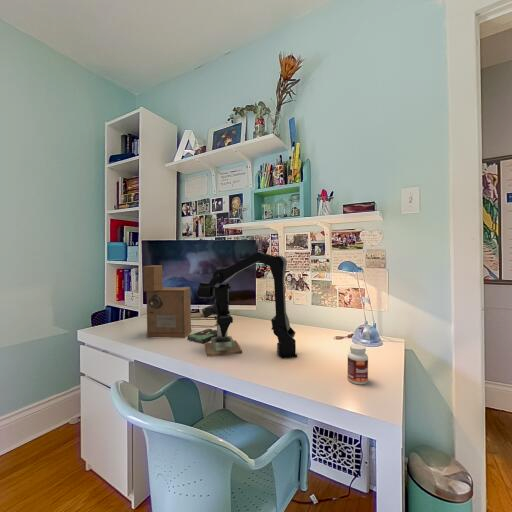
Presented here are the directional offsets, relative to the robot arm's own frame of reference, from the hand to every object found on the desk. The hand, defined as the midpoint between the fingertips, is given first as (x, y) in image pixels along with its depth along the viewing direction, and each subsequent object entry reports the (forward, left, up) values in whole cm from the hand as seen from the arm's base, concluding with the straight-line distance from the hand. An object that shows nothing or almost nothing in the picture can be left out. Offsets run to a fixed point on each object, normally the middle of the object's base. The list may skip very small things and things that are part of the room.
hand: (222, 335), depth 121 cm
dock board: (0, 0, -6) cm, 6 cm away
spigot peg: (0, 0, -4) cm, 4 cm away
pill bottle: (-38, +41, -6) cm, 56 cm away
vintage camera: (+24, -28, -6) cm, 37 cm away
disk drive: (+6, -18, -7) cm, 20 cm away
